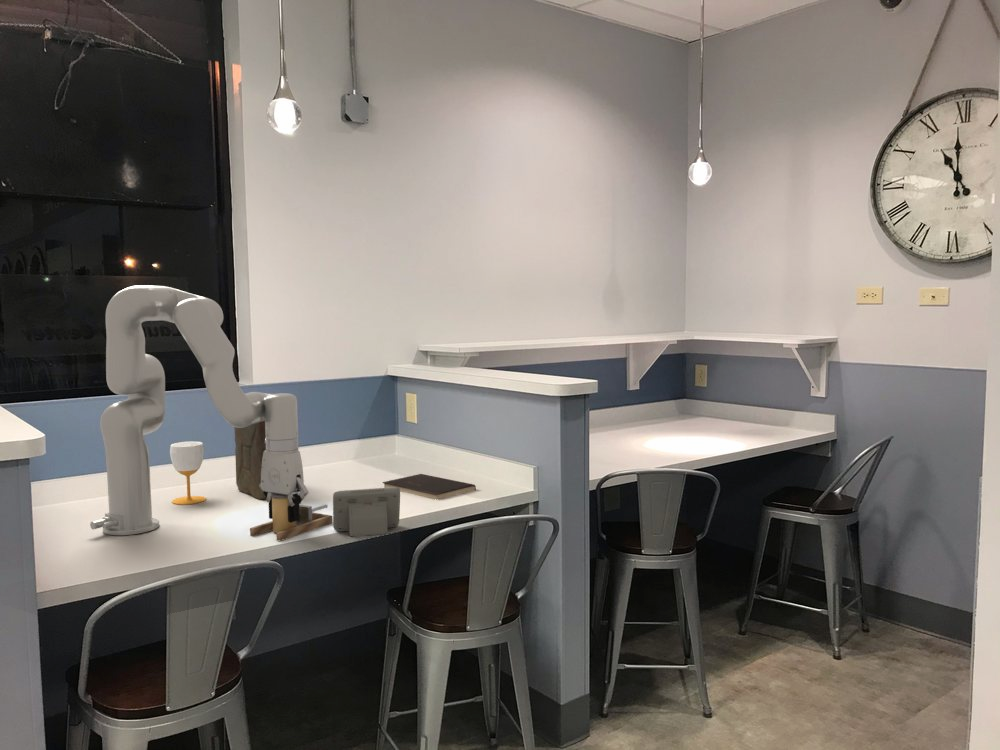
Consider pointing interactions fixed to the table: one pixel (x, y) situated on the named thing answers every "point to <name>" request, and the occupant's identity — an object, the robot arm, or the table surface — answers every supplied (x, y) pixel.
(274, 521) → the jar
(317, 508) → the pusher
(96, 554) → the table surface
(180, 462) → the cup
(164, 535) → the table surface
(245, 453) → the canister
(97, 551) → the table surface
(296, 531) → the lane
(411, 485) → the hardcover book
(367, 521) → the digital clock
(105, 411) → the robot arm
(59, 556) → the table surface
